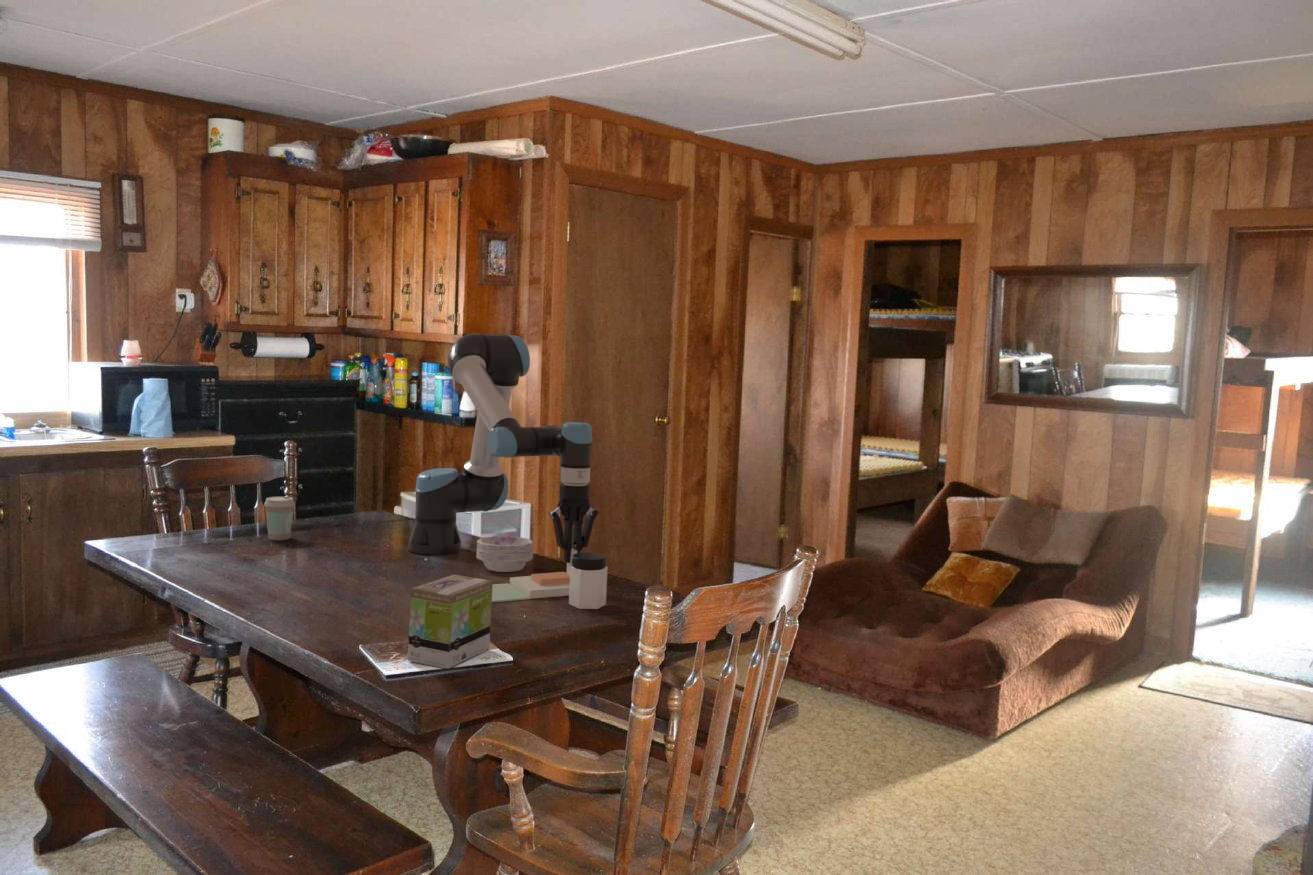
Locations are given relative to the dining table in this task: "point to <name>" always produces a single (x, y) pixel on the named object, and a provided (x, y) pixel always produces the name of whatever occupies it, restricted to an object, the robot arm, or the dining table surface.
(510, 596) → the mat
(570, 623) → the dining table surface
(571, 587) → the jar
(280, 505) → the coffee cup
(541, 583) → the tile
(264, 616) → the dining table surface
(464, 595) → the tea box
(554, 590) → the pale grey flat slab
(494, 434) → the robot arm
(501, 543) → the paper bowls
